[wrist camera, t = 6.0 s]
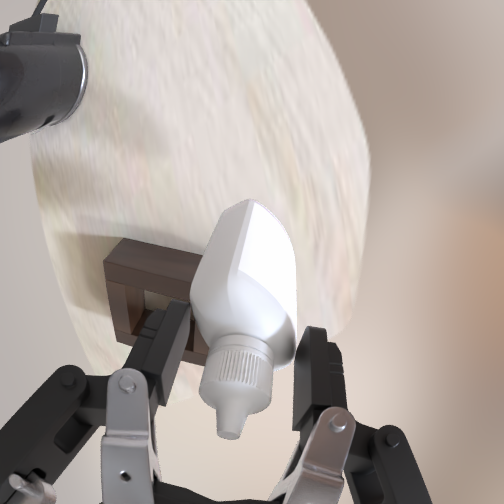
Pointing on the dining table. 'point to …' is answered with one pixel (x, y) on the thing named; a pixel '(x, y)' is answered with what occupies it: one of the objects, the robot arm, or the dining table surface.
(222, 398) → the eye dropper bottle
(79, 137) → the dining table surface
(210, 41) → the dining table surface
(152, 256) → the holder
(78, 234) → the dining table surface
